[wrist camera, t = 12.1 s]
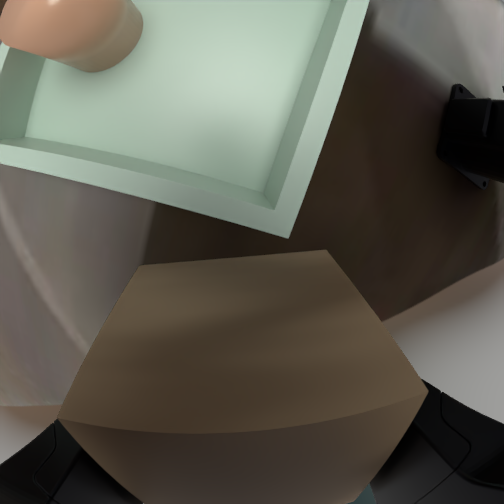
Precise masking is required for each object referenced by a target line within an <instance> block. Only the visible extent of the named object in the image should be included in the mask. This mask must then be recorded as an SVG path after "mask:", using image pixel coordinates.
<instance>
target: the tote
mask: <svg viewBox="0 0 504 504" xmlns="http://www.w3.org/2000/svg"><path fill="white" fill-rule="evenodd" d="M132 2H133V3H134V4H135V6H136V7H137V8H138V10H139V11H140V12H141V15H142V18H143V30H142V34H141V37H140V39H139V41H138V43H137V45H136V46H135V48H134V49H133V50H132V52H131V53H130V54H129V55H128V56H127V57H126V58H125V59H123V60H122V61H121V62H119V63H118V64H116V65H115V66H113V67H111V68H109V69H107V70H104V71H100V72H94V73H90V72H84V71H81V70H78V69H76V68H73V67H70V66H68V65H65V64H62V63H59V62H57V61H54V60H51V59H48V58H45V57H42V56H39V55H36V54H32V53H29V52H26V51H23V50H19V49H16V48H12V47H9V46H7V45H5V44H4V43H3V42H2V44H1V46H0V163H1V164H6V165H10V166H15V167H19V168H24V169H28V170H32V171H37V172H41V173H45V174H49V175H54V176H58V177H62V178H66V179H70V180H74V181H78V182H83V183H87V184H91V185H95V186H99V187H103V188H106V189H110V190H114V191H118V192H122V193H126V194H130V195H134V196H138V197H141V198H145V199H149V200H153V201H156V202H160V203H164V204H168V205H171V206H175V207H179V208H182V209H186V210H190V211H193V212H197V213H201V214H204V215H208V216H211V217H215V218H219V219H222V220H226V221H229V222H233V223H236V224H240V225H243V226H247V227H250V228H254V229H257V230H260V231H264V232H267V233H271V234H274V235H278V236H281V237H284V238H289V236H290V233H291V231H292V228H293V225H294V223H295V220H296V217H297V215H298V212H299V209H300V207H301V204H302V201H303V198H304V196H305V193H306V190H307V188H308V185H309V182H310V179H311V177H312V174H313V171H314V168H315V165H316V163H317V160H318V157H319V154H320V151H321V148H322V146H323V143H324V140H325V137H326V134H327V131H328V128H329V126H330V123H331V120H332V117H333V114H334V111H335V108H336V105H337V102H338V99H339V96H340V93H341V90H342V87H343V84H344V81H345V78H346V75H347V72H348V68H349V65H350V62H351V59H352V56H353V53H354V50H355V46H356V43H357V40H358V37H359V33H360V30H361V27H362V24H363V20H364V17H365V13H366V10H367V7H368V3H369V0H132Z"/></svg>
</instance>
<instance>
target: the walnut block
mask: <svg viewBox="0 0 504 504" xmlns="http://www.w3.org/2000/svg"><path fill="white" fill-rule="evenodd" d="M428 392H429V391H428V389H427V388H426V386H425V385H424V383H423V382H422V380H421V379H420V377H419V376H418V374H417V373H416V371H415V370H414V368H413V367H412V365H411V364H410V362H409V361H408V359H407V358H406V356H405V355H404V353H403V352H402V350H401V349H400V348H399V346H398V345H397V343H396V342H395V341H394V339H393V338H392V336H391V335H390V333H389V332H388V331H387V329H386V328H385V326H384V325H383V324H382V322H381V321H380V319H379V318H378V317H377V315H376V314H375V313H374V311H373V310H372V309H371V307H370V306H369V304H368V303H367V302H366V300H365V299H364V298H363V296H362V295H361V294H360V292H359V291H358V290H357V288H356V287H355V286H354V285H353V283H352V282H351V281H350V279H349V278H348V277H347V275H346V274H345V273H344V272H343V270H342V269H341V268H340V266H339V265H338V264H337V263H336V261H335V260H334V259H333V258H332V256H331V255H330V254H329V253H328V251H327V250H316V251H305V252H293V253H282V254H270V255H259V256H247V257H235V258H223V259H211V260H200V261H188V262H175V263H163V264H151V265H139V267H138V268H137V270H136V272H135V273H134V275H133V276H132V278H131V279H130V281H129V283H128V284H127V286H126V288H125V289H124V291H123V292H122V294H121V296H120V297H119V299H118V301H117V302H116V304H115V306H114V307H113V309H112V311H111V313H110V314H109V316H108V318H107V319H106V321H105V323H104V325H103V326H102V328H101V330H100V332H99V334H98V335H97V337H96V339H95V341H94V343H93V345H92V346H91V348H90V350H89V352H88V354H87V356H86V358H85V360H84V362H83V364H82V365H81V367H80V369H79V371H78V373H77V375H76V377H75V379H74V381H73V383H72V386H71V388H70V390H69V392H68V394H67V396H66V398H65V400H64V403H63V405H62V407H61V409H60V411H59V414H58V416H57V419H58V420H59V421H60V422H61V424H62V425H63V426H64V427H65V428H66V430H67V431H68V432H69V433H70V434H71V435H72V437H73V438H74V439H75V440H76V441H77V442H78V443H79V444H80V445H81V447H82V448H83V449H84V450H85V451H86V452H87V453H88V454H89V455H90V456H91V457H92V458H93V459H94V460H95V461H96V462H97V463H98V464H99V465H100V466H101V467H102V468H103V469H104V470H105V471H106V472H107V473H108V474H110V475H111V476H112V477H113V478H114V479H115V480H116V481H117V482H118V483H120V484H121V485H122V486H123V487H124V488H125V489H127V490H128V491H129V492H130V493H131V494H133V495H134V496H135V497H136V498H138V499H139V500H140V501H142V502H143V503H144V504H345V503H349V502H353V501H354V500H355V499H356V498H357V497H358V496H359V495H360V493H361V492H362V491H363V490H364V489H365V488H366V486H367V485H368V484H369V483H370V481H371V480H372V479H373V478H374V476H375V475H376V474H377V472H378V471H379V470H380V469H381V467H382V466H383V464H384V463H385V462H386V460H387V459H388V458H389V456H390V455H391V453H392V452H393V450H394V449H395V447H396V446H397V444H398V443H399V441H400V440H401V438H402V437H403V435H404V434H405V432H406V431H407V429H408V427H409V426H410V424H411V422H412V421H413V419H414V417H415V416H416V414H417V412H418V410H419V408H420V407H421V405H422V403H423V401H424V399H425V397H426V396H427V394H428Z"/></svg>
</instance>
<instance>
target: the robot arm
mask: <svg viewBox="0 0 504 504" xmlns="http://www.w3.org/2000/svg"><path fill="white" fill-rule="evenodd" d="M502 88H503V92H504V86H502ZM459 90H460V92H459ZM443 151H444V155H443ZM437 154H438V157H439V158H440V159H441V160H443V161H444V162H446V163H447V164H449V165H450V166H451V167H453V168H454V169H455V170H457V171H458V172H459V173H461V174H462V175H463V176H465V177H466V178H467V179H468V180H470V181H471V182H472V183H474V184H475V185H476V186H477V187H478V188H480V189H483V190H485V189H486V188H487V186H488V182H489V179H493V180H496V181H499V182H502V183H504V100H492V99H491V98H476V97H475V96H474V95H472V94H471V93H470V92H469V91H468V90H467V89H466V88H465V87H464V86H463V85H461V84H455V85H454V86H453V91H452V95H451V100H450V105H449V109H448V113H447V117H446V121H445V125H444V129H443V132H442V136H441V140H440V143H439V147H438V150H437ZM420 379H421V378H420ZM421 380H422V382H423V383H424V385H425V386H426V388H427V389H428V391H429V392H428V394H427V396H426V397H425V399H424V401H423V403H422V405H421V407H420V408H419V410H418V412H417V414H416V416H415V417H414V419H413V421H412V422H411V424H410V426H409V427H408V429H407V431H406V432H405V434H404V435H403V437H402V438H401V440H400V441H399V443H398V444H397V446H396V447H395V449H394V450H393V452H392V453H391V455H390V456H389V458H388V459H387V460H386V462H385V463H384V464H383V466H382V467H381V469H380V470H379V471H378V472H377V474H376V475H375V476H374V478H373V479H372V480H371V481H370V486H371V489H372V492H373V495H374V498H375V500H376V503H377V504H504V424H503V423H501V422H498V421H496V420H494V419H492V418H490V417H487V416H485V415H483V414H481V413H479V412H477V411H475V410H473V409H471V408H469V407H467V406H465V405H464V404H462V403H460V402H459V401H457V400H455V399H453V398H452V397H450V396H448V395H447V394H445V393H444V392H442V393H441V391H440V390H439V389H437V388H435V387H434V386H432V385H431V384H429V383H428V382H426V381H424V380H423V379H421ZM0 504H143V502H142V501H140V500H139V499H138V498H136V497H135V496H134V495H133V494H131V493H130V492H129V491H128V490H127V489H125V488H124V487H123V486H122V485H121V484H120V483H118V482H117V481H116V480H115V479H114V478H113V477H112V476H111V475H110V474H108V473H107V472H106V471H105V470H104V469H103V468H102V467H101V466H100V465H99V464H98V463H97V462H96V461H95V460H94V459H93V458H92V457H91V456H90V455H89V454H88V453H87V452H86V451H85V450H84V449H83V448H82V447H81V445H80V444H79V443H78V442H77V441H76V440H75V439H74V438H73V437H72V435H71V434H70V433H69V432H68V431H67V430H66V428H65V427H64V426H63V425H62V424H61V422H60V421H59V420H58V419H56V420H55V421H54V423H52V424H51V425H50V426H49V427H47V428H46V429H45V430H44V431H43V432H42V433H41V434H40V435H38V436H37V437H36V438H35V439H34V440H32V441H31V442H30V443H29V444H27V445H26V446H25V447H24V448H22V449H21V450H20V451H18V452H17V453H15V454H14V455H13V456H11V457H10V458H9V459H7V460H6V461H4V462H3V463H2V464H0Z"/></svg>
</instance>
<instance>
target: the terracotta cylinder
mask: <svg viewBox="0 0 504 504" xmlns="http://www.w3.org/2000/svg"><path fill="white" fill-rule="evenodd" d="M142 30H143V18H142V15H141V12H140V11H139V10H138V8H137V7H136V6H135V4H134V3H133V2H132V0H7V2H6V4H5V6H4V8H3V11H2V14H1V17H0V39H1V41H2V42H3V43H4V44H5V45H7V46H9V47H12V48H16V49H19V50H23V51H26V52H29V53H32V54H36V55H39V56H42V57H45V58H48V59H51V60H54V61H57V62H59V63H62V64H65V65H68V66H70V67H73V68H76V69H78V70H81V71H84V72H90V73H94V72H100V71H104V70H107V69H109V68H111V67H113V66H115V65H116V64H118V63H119V62H121V61H122V60H123V59H125V58H126V57H127V56H128V55H129V54H130V53H131V52H132V50H133V49H134V48H135V46H136V45H137V43H138V41H139V39H140V37H141V34H142Z"/></svg>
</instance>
